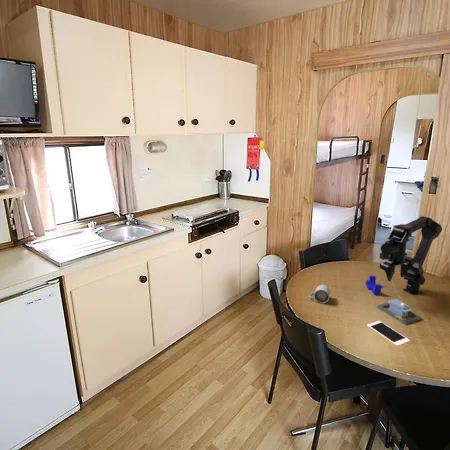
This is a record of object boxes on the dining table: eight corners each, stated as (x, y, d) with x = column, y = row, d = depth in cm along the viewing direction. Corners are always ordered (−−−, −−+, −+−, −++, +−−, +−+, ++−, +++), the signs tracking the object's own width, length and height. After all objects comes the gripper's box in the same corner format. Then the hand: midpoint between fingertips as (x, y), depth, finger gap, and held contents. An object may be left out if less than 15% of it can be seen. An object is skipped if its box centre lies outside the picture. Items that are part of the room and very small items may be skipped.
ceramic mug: (330, 297, 170) (330, 284, 168) (328, 304, 163) (329, 291, 161) (309, 294, 174) (310, 281, 172) (307, 301, 167) (308, 288, 165)
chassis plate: (391, 303, 163) (392, 300, 162) (420, 319, 149) (421, 316, 148) (377, 307, 159) (377, 305, 159) (405, 324, 145) (405, 322, 145)
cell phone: (397, 346, 131) (397, 345, 131) (366, 326, 146) (366, 324, 145) (410, 341, 134) (410, 340, 134) (379, 321, 148) (379, 320, 148)
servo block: (392, 307, 159) (393, 296, 157) (410, 317, 150) (412, 306, 148) (386, 309, 158) (387, 298, 156) (404, 319, 149) (406, 308, 147)
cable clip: (365, 284, 183) (366, 275, 181) (373, 285, 182) (374, 275, 180) (371, 295, 171) (372, 285, 169) (380, 295, 170) (381, 285, 169)
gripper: (397, 242, 169) (394, 269, 174) (371, 249, 162) (369, 276, 167) (417, 248, 159) (413, 277, 164) (391, 256, 152) (387, 285, 157)
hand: (395, 278), depth 163 cm, fingers open, 9 cm apart
